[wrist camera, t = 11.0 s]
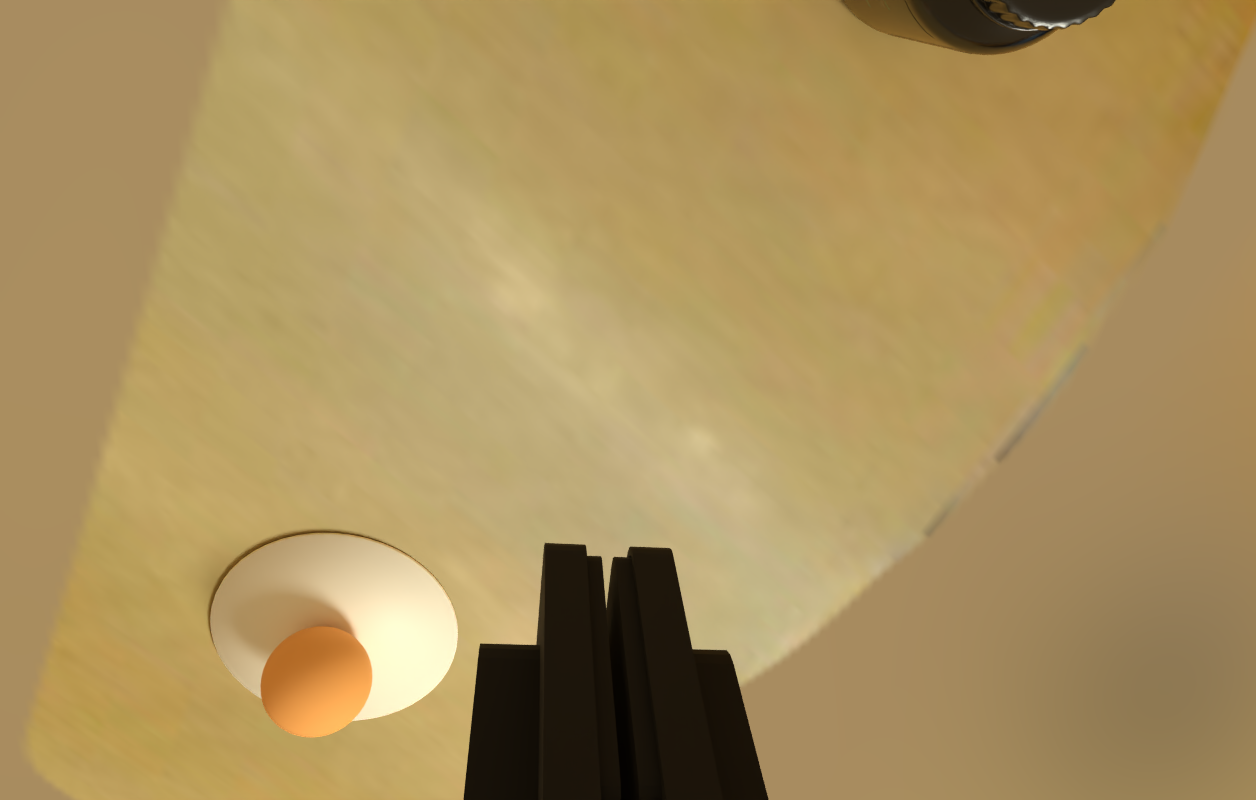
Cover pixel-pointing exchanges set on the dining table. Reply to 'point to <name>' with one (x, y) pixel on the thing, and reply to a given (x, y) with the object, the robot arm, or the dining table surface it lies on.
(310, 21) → the dining table surface
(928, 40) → the supplement bottle
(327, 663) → the ball
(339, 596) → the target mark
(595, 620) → the robot arm
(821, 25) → the dining table surface
